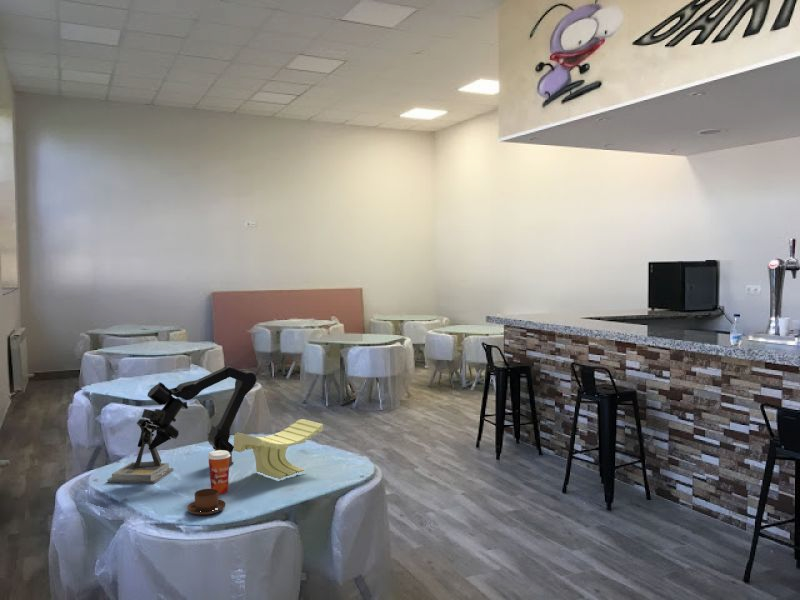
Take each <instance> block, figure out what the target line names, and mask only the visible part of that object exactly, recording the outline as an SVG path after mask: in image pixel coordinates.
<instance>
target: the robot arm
mask: <svg viewBox="0 0 800 600" xmlns="http://www.w3.org/2000/svg"><path fill="white" fill-rule="evenodd" d="M229 378H232V379H234V380H235V382H234V391H233V393H232V395H231V398H230V400H229V402H228V404H227V407H226V408H225V409H224V412H223V415H222V417H221V419H220V421H219V423H218V424H217V425H216V426H214V425H212V426H211V428H210V431H209V432H208V433H207V437H208V438H207V442H208V444H209V445H210V446H211V447H212V449H213V450H214V451H217V450H225V451H228V452H229V453H230V455H231V456H230V457H229V468H230V467H231V466H232V465H233V464H234V462H235V461H233V451H234V444H232V443H231V442H230V438H231V437H230V436H231V427H232V425H233V423H234V421H235V419H236V417H237V414H238V412H239V410H240V409H241V405H242V403H243V402H244V399H245V397H246V395H247V394H248V393H249V392H250V391H251V390H252V389H253V388H254V387H255V385H256V383H257V380H258V379H257V376H256V374H255V373H253V372H251V371H246V370H240V369H239V370H238V369H236V368H234V367H232V366H229V365H226V366H224V367H222V368H220V369H218V370H216V371H214V372H211V373H209V374H207V375H205V376H203V377H201V378H198V379H195V380H191V381H186V382H181V383H180V384H177V386H176V387H173V388H168V387H167V386H165V384H163V382H158V383H157V384H156V385H154V386H153V387H151V388H150V389H149V391H148V392H147V397H148V398H149V399H150V400H152V401H153V402H155V403H156V404H157V405H158V406H161V405H164V406H163V407H162V408H161V409H159V408H155V409H154V410H151V409H146V408H144V410H143V413H142V415H141V418H140V419H138V421H137V422H136V425H137V426H139V428H140V431H141V432H140V436H139V440H138V444H137V447H138V448H141V445H142V436H143V434H144V432H145V431H147V432H146V434H145V438H150V437H149V436H147V434H148V432H149V431H151V433H152V437H153V436H154V437H153V439H152V440H153V441H152V443H151V445H150V447H149V446H148V450H149V451H150V450H152V449H154V448H156V449H157V447H159V446H160V445H162V444H164V443H166V442H168V441H170V440H171V439H174V440H176V439H178V437H179V434H180V431H179V430H178V429H177V428H176V427H175V426H173V425H172V422H174V423H176V421H177V419H176V417H177V415H178V413H179V412H180V411H181V410H188V409H189V406H188V402H187V401H190V400H192V399H194V398H195V397H197V396H198V395H199V394H200V393H201V392H202V391H203V390H205V389H207V388H209V387H211V386H213V385H215V384H218V383H220V382H222V381H225V380H226V379H229ZM181 399H182V400H185V401H182V400H181ZM154 432H155V433H156V434H153V433H154Z"/></svg>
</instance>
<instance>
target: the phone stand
mask: <svg viewBox="0 0 800 600" xmlns="http://www.w3.org/2000/svg"><path fill="white" fill-rule="evenodd" d="M146 432H147V431H145V432H144V434H143V436H142V445H141V447H139V451H138V454H137V457H136V460H135V461H134V462H135V465H134V468H146V467H158V466H160V464H161V463H162V459H161V456H160V454H159V452H158V449H157V447H156V448H154V449H152V450H149V451H150V455H151V458H152V461H142V458H143V455H144V451H145V447H146V445H148V448H149V447H150V445H151V443H152V441H153V440H154V439H153V436H152V433H151V431H149V432H148V434H147V436H149V437H150V438H145V434H146Z"/></svg>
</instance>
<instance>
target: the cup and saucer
mask: <svg viewBox="0 0 800 600" xmlns="http://www.w3.org/2000/svg"><path fill="white" fill-rule="evenodd" d="M225 507H226V502H225V501H224V500H222V499H219V495H218V491H217V490H215V489H211V488H203V489H199V490H196V491H195V492H194V501H192V502H190V503H189V504H188V505H187V507H186V509H187V510H188V511H189V513H191V514H192V515H199V516H200V515H201V516H207V515H211V514H216V513H219V512H220V511H222V510H223V509H224V508H225ZM215 508H218V510H215ZM212 510H214V511H212ZM200 511H201V512H200Z"/></svg>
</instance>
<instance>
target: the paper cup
mask: <svg viewBox="0 0 800 600" xmlns="http://www.w3.org/2000/svg"><path fill="white" fill-rule="evenodd" d="M230 456H231V455H230V453H229V452H228V451H225V450H217V451H215V450H212V451H210V452H209V453H208V455H207V459H208V467H209V468H208V469H209V480H210V489H215V490H217V491H218V496H219V495H224V493H225V494H226V493H228V491H229V478H230V477H229V472H230V467H229V457H230Z"/></svg>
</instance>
